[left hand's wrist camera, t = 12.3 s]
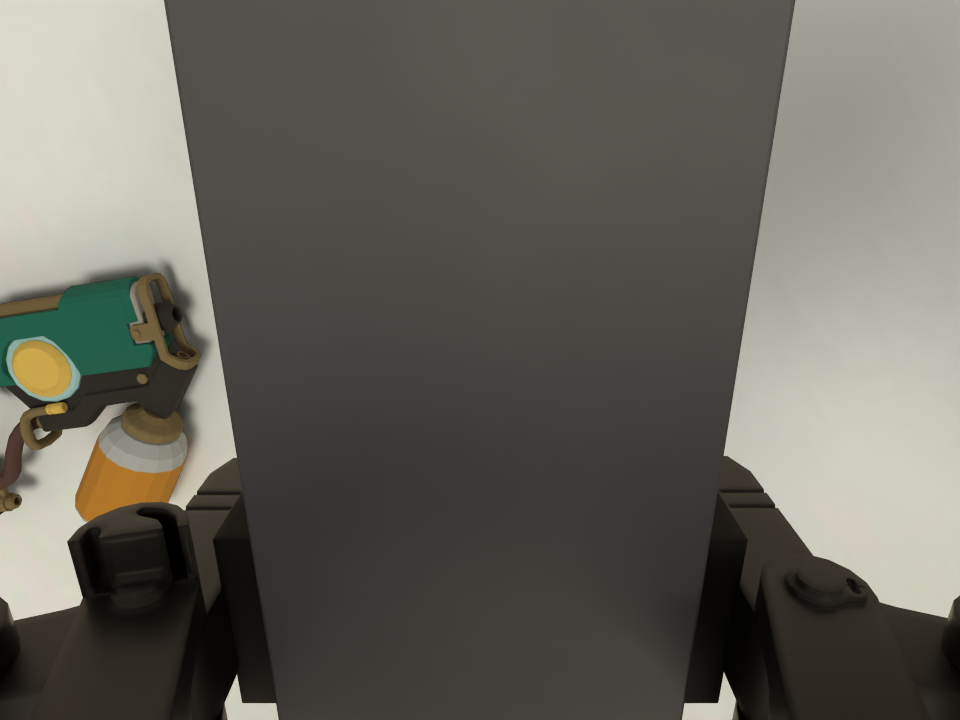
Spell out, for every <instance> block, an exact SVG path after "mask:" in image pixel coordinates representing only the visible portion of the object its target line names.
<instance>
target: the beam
mask: <svg viewBox="0 0 960 720" xmlns="http://www.w3.org/2000/svg"><path fill="white" fill-rule="evenodd" d="M164 3H165V9H166V15H167V21H168V28H169V34H170V40H171V47H172V53H173V59H174V65H175V72H176V78H177V84H178V90H179V97H180V103H181V109H182V116H183V122H184V128H185V134H186V141H187V147H188V153H189V159H190V166H191V172H192V178H193V184H194V191H195V197H196V203H197V210H198V216H199V222H200V228H201V235H202V241H203V247H204V253H205V260H206V266H207V272H208V278H209V285H210V291H211V297H212V304H213V310H214V316H215V322H216V329H217V335H218V341H219V347H220V354H221V360H222V366H223V372H224V379H225V385H226V391H227V398H228V404H229V410H230V416H231V423H232V429H233V435H234V441H235V448H236V454H237V460H238V467H239V473H240V479H241V485H242V492H243V498H244V504H245V510H246V517H247V523H248V529H249V535H250V542H251V548H252V554H253V561H254V567H255V573H256V579H257V586H258V592H259V598H260V604H261V611H262V617H263V623H264V629H265V636H266V642H267V648H268V655H269V661H270V667H271V673H272V680H273V686H274V692H275V698H276V705H277V711H278V717H279V720H682V715H683V708H684V702H685V696H686V689H687V683H688V677H689V670H690V664H691V658H692V651H693V645H694V639H695V632H696V626H697V620H698V613H699V607H700V601H701V594H702V588H703V582H704V575H705V569H706V563H707V556H708V550H709V544H710V537H711V531H712V524H713V518H714V512H715V505H716V499H717V493H718V486H719V480H720V474H721V467H722V461H723V455H724V448H725V442H726V436H727V429H728V423H729V417H730V410H731V404H732V398H733V391H734V385H735V379H736V372H737V366H738V360H739V353H740V347H741V341H742V334H743V328H744V322H745V315H746V309H747V303H748V296H749V290H750V284H751V277H752V271H753V265H754V258H755V252H756V246H757V239H758V233H759V227H760V220H761V214H762V208H763V201H764V195H765V188H766V182H767V176H768V169H769V163H770V157H771V150H772V144H773V138H774V131H775V125H776V119H777V112H778V106H779V100H780V93H781V87H782V81H783V74H784V68H785V62H786V55H787V49H788V43H789V36H790V30H791V24H792V17H793V11H794V5H795V0H164Z"/></svg>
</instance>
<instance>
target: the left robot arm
mask: <svg viewBox="0 0 960 720" xmlns="http://www.w3.org/2000/svg"><path fill="white" fill-rule="evenodd" d="M67 543H68V546H69V550H70V553H71V557H72V560H73V564H74V568H75V571H76V575H77V578H78V582H79V585H80V589H81V592H82V596H83V599H82V601H81V604H80V606H77V607H73V608H69V609H66V610H62V611H57V612H52V613H48V614H43V615H38V616H34V617H29V618H25V619H20V620H15V621H13V618H12V615H11V612H10V609H9V606H8V603H7V602H5V601H4V600H3V599H2V598H1V597H0V720H227V714H226V709H225V704H224V703H225V700H226V698H227V696H228V693H229V691H230V689H231V686H232V684H233V682H234V679H235V677H236V675H237V676H238V682H239V687H240V692H241V698H242V703H276V698H275V692H274V686H273V680H272V673H271V667H270V661H269V655H268V648H267V642H266V636H265V629H264V623H263V617H262V611H261V604H260V598H259V592H258V586H257V579H256V573H255V567H254V561H253V554H252V548H251V542H250V535H249V529H248V523H247V517H246V510H245V504H244V498H243V492H242V485H241V479H240V473H239V467H238V460H237V458H233V459H231V460H230V461H228V462H227V463H225V464H224V465H222V466H221V467H219V468H218V469H216V470H215V471H213V472H212V473H210V475H209V476H208V477H207V479H206V480H205V482H204V483H203V484H202V486H201V487H200V488H199V490H198V491H197V495H194V496H193V498H192V499H191V500H190V502H189V503H188V504H187V506H186V510H182V509H181V508H180V507H179V506H177V505H173V504H169V503H164V502H143V503H137V504H133V505H128V506H124V507H119V508H117V509H114V510H112V511H109V512H107V513H104V514H102V515H99V516H97V517H95V518H94V519H92V520H91V521H89V522H88V523H86V524H85V525H83V526H82V527H80V528H79V529H78V530H77V531H76V532H75V533H74V535H73V536H72V537H71V538H70V539H69V540H68V542H67ZM723 673H725V675H726V677H727V680H728V682H729V684H730V687H731V689H732V691H733V694H734V696H735V698H736V704H735V709H734V714H733V719H732V720H960V596H959V597H958V598H956V599H955V600H954V602H953V605H952V608H951V610H950V613H949V616H948V618H944V617H940V616H935V615H930V614H926V613H921V612H916V611H912V610H907V609H903V608H898V607H894V606H890V605H887V604H883V603H880V602H879V600H878V598H877V596H876V595H875V594H874V592H873V591H872V589H871V588H870V587H869V585H868V584H867V583H866V582H865V581H864V580H862V579H861V578H860V577H858V576H857V575H856V574H854V573H853V572H852V571H850V570H849V569H847V568H845V567H843V566H840V565H838V564H836V563H834V562H832V561H830V560H827V559H823V558H819V557H815V556H813V555H812V553H811V552H810V551H809V549H808V548H807V547H806V545H805V544H804V543H803V541H802V540H801V539H800V537H799V536H798V535H797V533H796V532H795V531H794V529H793V528H792V527H791V525H790V524H789V522H788V521H787V520H786V518H785V517H784V516H783V514H782V513H781V512H780V510H779V509H778V508H775V504H774V502H773V501H772V500H771V498H770V497H769V496H768V494H767V493H764V489H763V488H762V486H761V485H760V484H759V482H758V481H757V480H756V478H755V477H754V476H753V474H752V473H751V472H750V471H749V470H747V469H746V468H744V467H743V466H741V465H740V464H738V463H737V462H735V461H734V460H732V459H731V458H729V457H728V456H723V461H722V467H721V474H720V480H719V486H718V493H717V499H716V505H715V512H714V518H713V524H712V531H711V537H710V544H709V550H708V556H707V563H706V569H705V575H704V582H703V588H702V594H701V601H700V607H699V613H698V620H697V626H696V632H695V639H694V645H693V651H692V658H691V664H690V670H689V677H688V683H687V689H686V696H685V702H684V703H718V700H719V695H720V689H721V684H722V678H723Z"/></svg>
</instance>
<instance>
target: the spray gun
mask: <svg viewBox="0 0 960 720" xmlns="http://www.w3.org/2000/svg"><path fill="white" fill-rule="evenodd" d="M152 280H154V281H155V282H156V283H157V285H158V287H159V291H160V294H161V297H162V300H163V303H155V300H154V297H153V294H152V291H151V287H150V286H149V283H150V282H151V281H152ZM181 320H182V314H181V311H180V309H179V308H178V307H177V306H176V305H174V302H173V299H172V296H171V292H170V289H169V286H168V283H167V281H166V279H165V277H164V276H163V275H162V274H160V273H154V274H148V275H145V276H142V277H141V278H139V277H129V278H122V279H116V280H109V281H103V282H96V283H90V284H83V285H77V286H71V287H70V288H68V289H67V290H66V291H65V292H64V293H63V294H61V295H55V296H48V297H42V298H36V299H29V300H23V301H16V302H10V303H4V304H0V387H3V386H5V387H6V388H7V389H9V390H10V391H11V392H12V393H13V394H14V395H15V396H17V397H18V398H19V399H20V400H21V401H22V402H23V403H25V404H26V405H27V406H28V407H29V408H30V409H29V410H28V411H26V412H24V413H23V415H22V417H21V418H20V422H19V423H18V424H17V426H16V427H15V428H14V429H13V431H12V433H11V434H10V436H9V439H8V443H7V448H6V452H5V471H0V514H2V513H3V512H5V511H12V510H13V509H15V508H18V507H19V506H20V505H21V502H22V498H21V496H20V495H18V494H14V493H9V492H8V490H7V486H9V485H11V484H13V483H14V482H15V481H16V480H17V478H18V477H19V475H20V472H21V459H22V450H23V445H24V442H25V444H26V445H27V446H28V447H30V448H31V449H34V450H40V449H42V448H44V447H47V446H49V445H51V444H52V443H53V442H54V441H56V440H57V439H58V438H59V437H60V436H61V435H62V430H63V429H71V428H78V427H86V426H88V425H90V424H92V423H93V422H94V421H95V420H96V419H97V418H98V416H99V415H100V414H101V413H102V411H103V410H104V409H105V407H106V406H107V405H113V404H119V403H125V402H132V401H137V402H138V403H136V404H133V405H131V406H128V407H127V409H126V410H125V411H124V413H123V415H121V416H118V417H116V418H113V419H112V420H111V421H110V423H109V424H108V425H107V426H106V427H105V429H104V430H103V431H102V432H101V434H100V435H99V436H98V439H97V441H96V444H95V446H94V449H93V451H92V454H91V457H90V459H89V462H88V464H87V467H86V470H85V472H84V475H83V477H82V480H81V483H80V485H79V488H78V490H77V493H76V499H75V507H76V510H77V511H78V513H79V515H80V516H81V518H82V519H83V520H84V521H85V522H87V523H88V522H89V521H91V520H92V519H94V518H95V517H97V516H99V515H102V514H104V513H107V512H109V511H112V510H114V509H117V508H119V507H124V506H128V505H133V504H137V503H143V502H164V503H168V502H169V499H170V497H171V494H172V492H173V489H174V487H175V484H176V482H177V479H178V477H179V474H180V472H181V470H182V467H183V465H184V462H185V460H186V457H187V446H188V445H187V439H186V436H185V434H184V433H183V432H182V430H183V428H184V423H183V419H182V418H181V417H180V416H179V414H178V413H177V412H175V411H176V410H177V409H178V407H179V405H180V403H181V401H182V399H183V396H184V394H185V392H186V390H187V388H188V386H189V384H190V381H191V379H192V377H193V375H194V373H195V371H196V369H197V363H198V361H199V358H200V356H201V354H200V352H199V351H198V350H197V349H196V348H194V347H192V346H190V345H188V344H186V340H185V337H184V334H183V331H182V328H181V324H180V322H181ZM166 330H172V331H173V334H174V337H175V340H176V343H177V346H178V349H180V350H182V351H184V352H181V351H179V352H177V353H176V354H174V353H170V351H169V350H168V347H169V345H170V343H171V341H172V338H171V335H170V334H168V333H165V332H164V331H166ZM188 354H189V355H190V356H191V357H192V358H190V359H189V355H188ZM37 428H42V429H43V430H44V431H46V432H48V431H51V433H49V434H48V435H47V436H45V437H44V438H42V439H40V440H37V439H36V438H35V436H34V433H33V430H35V429H37Z"/></svg>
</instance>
